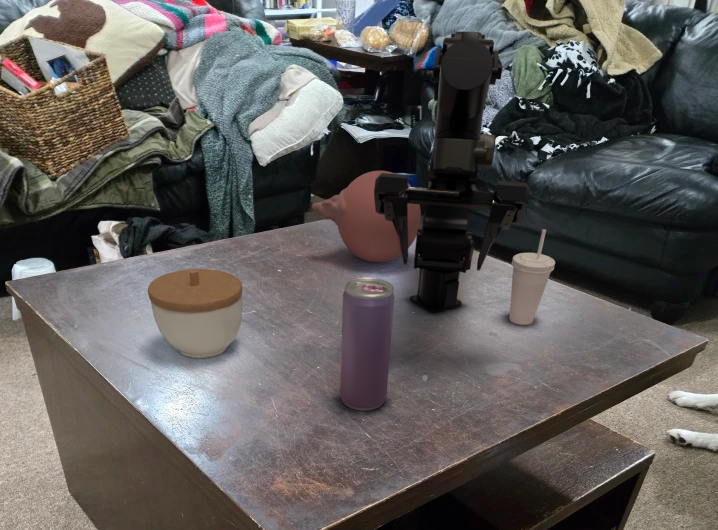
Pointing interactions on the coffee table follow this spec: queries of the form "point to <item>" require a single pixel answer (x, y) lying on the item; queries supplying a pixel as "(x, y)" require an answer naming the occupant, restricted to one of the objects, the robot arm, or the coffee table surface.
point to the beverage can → (366, 342)
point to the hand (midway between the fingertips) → (441, 266)
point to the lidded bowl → (197, 310)
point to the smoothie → (529, 283)
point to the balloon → (367, 220)
